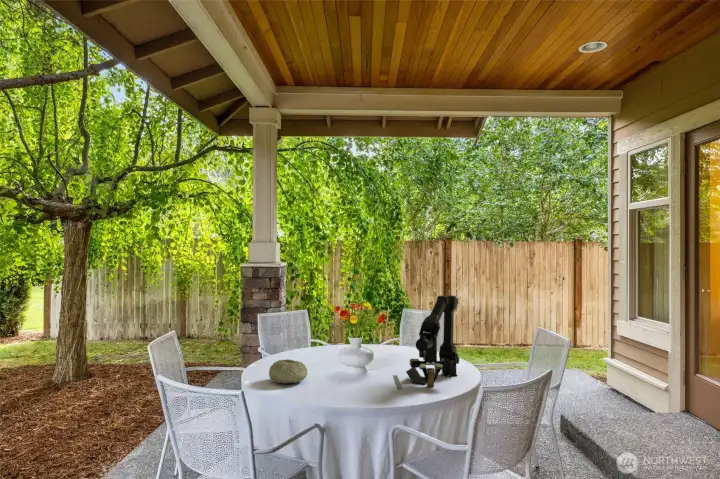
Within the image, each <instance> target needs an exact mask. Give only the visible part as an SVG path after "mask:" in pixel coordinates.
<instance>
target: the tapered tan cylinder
mask: <svg viewBox="0 0 720 479" xmlns="http://www.w3.org/2000/svg"><path fill="white" fill-rule="evenodd" d="M426 368H427V367H426ZM434 370H435V367H434V368H433V367H428V368H427V379H428V380H427V384H426V387H427V388H430V389H431V388H435V382H434Z"/></svg>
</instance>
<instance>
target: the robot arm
mask: <svg viewBox="0 0 720 479" xmlns="http://www.w3.org/2000/svg"><path fill="white" fill-rule="evenodd" d="M458 305H459V298H458V297H457V296H456V295H449V294H443V295H438V296H437V297H436V302H435V304H434V306H433V308H432V310H431V312H430V314H429V315H427V316H426V317H425V318H424V320H423V321H422V322H421V326H420V329H419V332H418V336H419V338H418V339H417V340H416V341H415V348H416V350H417V351H418V358H410V359H409V366H410V368H416V369H417V368H419V370H422V373H423V377H425V379H426V382H427V380H428V379H427V366H434V383H436V380H437V378H438V376H439V374H440V372H441V374H442V375H443V376H444V377H458V374H457V365H458V364H460V357H459V354H458V352H457V347H456V345H455V343H454V319H455V318H454V316H455V315H454V314H455V312H456V310H457V309H458ZM442 315H443V340H442V341H443V342H442V344H441V345H440V346H439V351H438V337H439V332H440V330H441V324H440V321H441V318H442ZM419 358H420V359H421V358H422V359H423V360H419ZM438 358H439V360H438Z"/></svg>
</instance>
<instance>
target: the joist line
mask: <svg viewBox="0 0 720 479" xmlns="http://www.w3.org/2000/svg"><path fill="white" fill-rule="evenodd" d="M392 376H393V379H394V382H395V385H396V388H397V390H402V389H403V387H402V385H401V382H400V379H399V377H398V375H397V374H393V375H392Z"/></svg>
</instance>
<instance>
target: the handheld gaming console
mask: <svg viewBox="0 0 720 479" xmlns="http://www.w3.org/2000/svg"><path fill="white" fill-rule="evenodd" d="M405 372H406V374H407V375H408V377H409V379H410V381H411V383H412V384H414V385H419V384H420V385H419V386H425V385H427V384H426V383H427V382H426V379H425V376H422V375H421V374H420V373H419V371H418V370H417V368H412V367H410V369H408V370H406V371H405Z"/></svg>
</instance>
